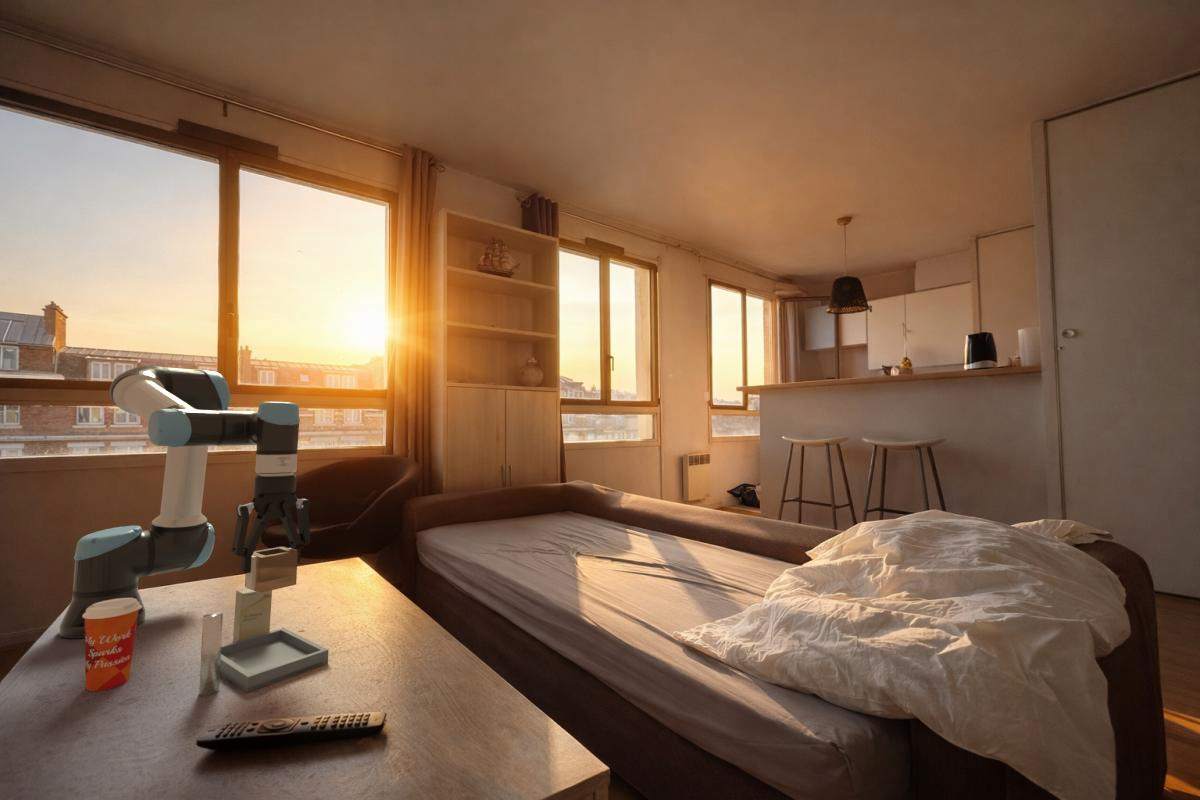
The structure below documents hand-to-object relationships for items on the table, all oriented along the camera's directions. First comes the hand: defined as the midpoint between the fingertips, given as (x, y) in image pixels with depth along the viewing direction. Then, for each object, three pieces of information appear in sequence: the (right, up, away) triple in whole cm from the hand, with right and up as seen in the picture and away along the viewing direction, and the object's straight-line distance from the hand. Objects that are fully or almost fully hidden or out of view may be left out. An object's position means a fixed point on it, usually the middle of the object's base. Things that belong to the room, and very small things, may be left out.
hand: (270, 583), depth 109 cm
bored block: (0, 0, 0) cm, 0 cm away
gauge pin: (-3, -16, -13) cm, 20 cm away
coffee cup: (-25, -16, -10) cm, 31 cm away
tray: (0, -16, -1) cm, 16 cm away
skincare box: (-10, -17, +9) cm, 22 cm away
